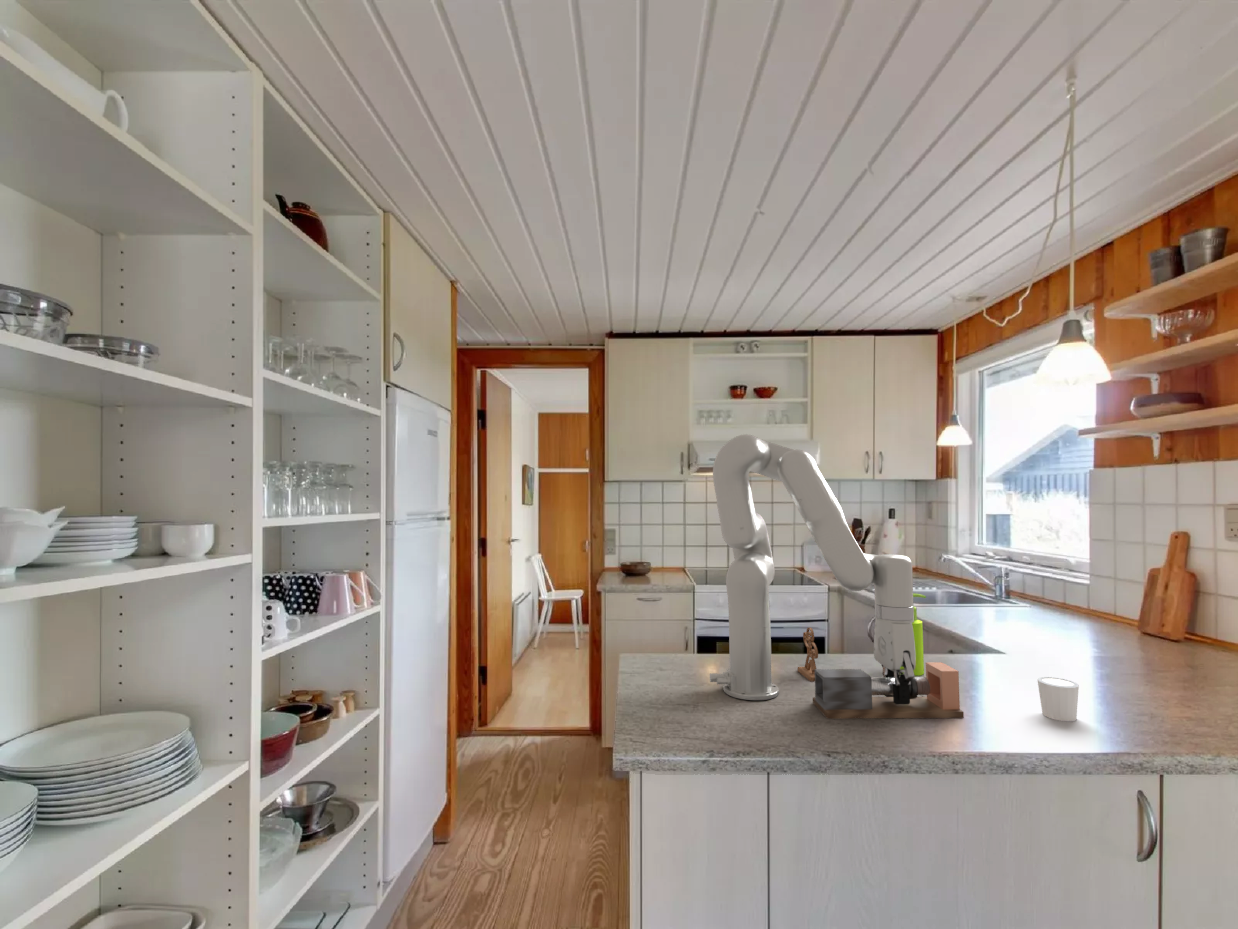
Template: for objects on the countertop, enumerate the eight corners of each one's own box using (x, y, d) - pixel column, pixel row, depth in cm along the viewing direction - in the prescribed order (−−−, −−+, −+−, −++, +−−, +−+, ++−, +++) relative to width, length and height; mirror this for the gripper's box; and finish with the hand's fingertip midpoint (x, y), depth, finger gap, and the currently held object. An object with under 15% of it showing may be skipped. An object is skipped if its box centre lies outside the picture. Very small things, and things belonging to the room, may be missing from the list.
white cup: (1082, 725, 116) (1081, 689, 116) (1040, 718, 120) (1038, 683, 120) (1078, 714, 122) (1076, 679, 122) (1037, 707, 126) (1036, 674, 126)
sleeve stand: (827, 718, 120) (826, 679, 121) (812, 703, 129) (812, 667, 130) (963, 717, 120) (962, 679, 121) (939, 702, 129) (938, 666, 130)
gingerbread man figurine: (825, 680, 144) (824, 631, 145) (810, 681, 144) (809, 632, 145) (811, 670, 153) (810, 623, 154) (797, 670, 153) (796, 624, 154)
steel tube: (832, 703, 122) (831, 678, 123) (823, 694, 127) (822, 670, 128) (932, 702, 122) (931, 677, 123) (919, 694, 128) (919, 669, 128)
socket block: (942, 709, 122) (941, 671, 122) (926, 698, 128) (925, 662, 128) (959, 709, 122) (958, 671, 122) (942, 698, 128) (941, 662, 128)
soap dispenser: (931, 676, 147) (929, 596, 148) (902, 675, 149) (899, 595, 150) (924, 669, 153) (921, 592, 154) (895, 668, 154) (893, 591, 155)
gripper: (860, 605, 134) (863, 687, 133) (894, 621, 118) (897, 715, 117) (893, 605, 134) (896, 687, 133) (932, 621, 117) (935, 714, 117)
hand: (896, 699), depth 125 cm, fingers closed on steel tube, 3 cm apart
